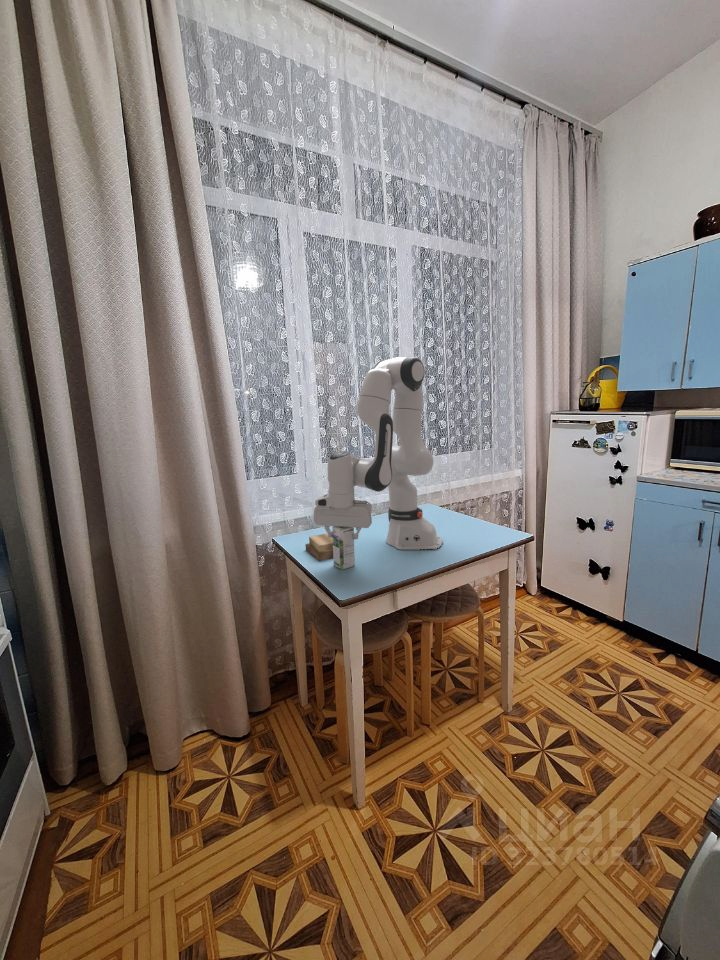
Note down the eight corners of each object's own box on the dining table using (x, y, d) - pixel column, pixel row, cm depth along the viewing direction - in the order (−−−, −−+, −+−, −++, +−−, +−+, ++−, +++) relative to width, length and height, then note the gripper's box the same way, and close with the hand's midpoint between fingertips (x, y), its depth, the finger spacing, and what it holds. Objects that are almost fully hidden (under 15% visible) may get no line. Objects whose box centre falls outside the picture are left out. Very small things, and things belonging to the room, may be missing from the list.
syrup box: (333, 564, 139) (331, 525, 136) (346, 560, 143) (345, 522, 140) (341, 570, 135) (339, 530, 132) (355, 565, 138) (354, 526, 135)
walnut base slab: (335, 544, 160) (335, 537, 160) (350, 554, 149) (350, 547, 149) (305, 551, 154) (305, 544, 153) (319, 562, 143) (319, 555, 142)
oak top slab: (335, 538, 158) (335, 531, 158) (346, 547, 149) (346, 540, 148) (309, 543, 153) (309, 536, 153) (319, 553, 144) (319, 545, 143)
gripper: (373, 498, 134) (374, 536, 137) (317, 496, 139) (319, 533, 142) (369, 503, 128) (370, 543, 131) (310, 500, 133) (312, 539, 136)
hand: (343, 538), depth 136 cm, fingers closed on syrup box, 8 cm apart
